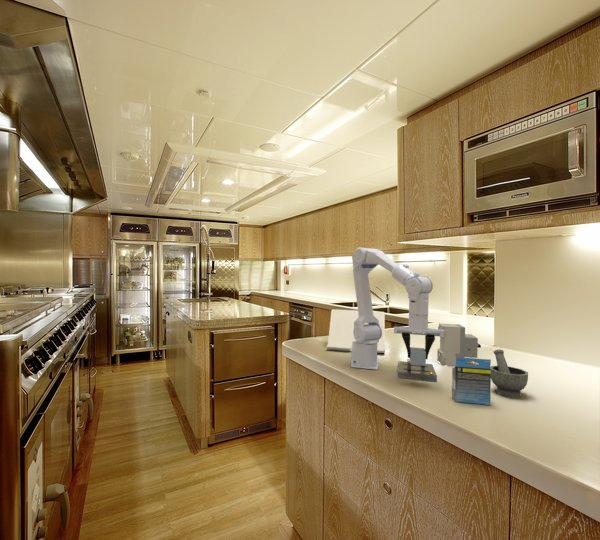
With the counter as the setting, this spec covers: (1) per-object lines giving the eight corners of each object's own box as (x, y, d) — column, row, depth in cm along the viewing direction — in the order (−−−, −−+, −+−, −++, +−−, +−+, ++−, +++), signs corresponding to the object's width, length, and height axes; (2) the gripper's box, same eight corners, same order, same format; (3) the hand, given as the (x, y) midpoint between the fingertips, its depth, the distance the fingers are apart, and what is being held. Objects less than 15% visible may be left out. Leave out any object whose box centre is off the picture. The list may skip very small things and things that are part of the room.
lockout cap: (410, 364, 100) (410, 351, 100) (409, 359, 106) (409, 347, 106) (425, 365, 99) (425, 352, 99) (423, 360, 104) (424, 348, 104)
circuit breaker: (482, 368, 122) (482, 328, 122) (441, 365, 125) (442, 326, 125) (475, 362, 129) (476, 325, 129) (437, 360, 132) (438, 323, 132)
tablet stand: (331, 343, 160) (332, 308, 160) (383, 347, 155) (384, 311, 155) (326, 351, 143) (326, 313, 143) (384, 356, 137) (385, 316, 137)
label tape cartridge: (485, 400, 91) (486, 356, 91) (490, 405, 87) (491, 359, 87) (451, 396, 93) (452, 353, 93) (454, 402, 89) (455, 356, 89)
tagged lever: (407, 369, 110) (407, 360, 110) (406, 367, 113) (407, 358, 113) (411, 369, 110) (411, 361, 110) (410, 367, 112) (411, 359, 112)
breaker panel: (398, 377, 108) (398, 370, 108) (397, 366, 122) (397, 359, 122) (436, 381, 105) (436, 374, 105) (431, 369, 119) (432, 363, 119)
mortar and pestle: (536, 400, 91) (536, 357, 91) (502, 399, 91) (503, 356, 91) (510, 386, 103) (510, 348, 103) (480, 385, 103) (481, 347, 103)
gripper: (394, 314, 101) (393, 358, 101) (445, 317, 96) (444, 363, 96) (394, 312, 107) (393, 353, 107) (441, 314, 103) (440, 357, 103)
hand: (417, 357), depth 102 cm, fingers closed on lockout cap, 4 cm apart
